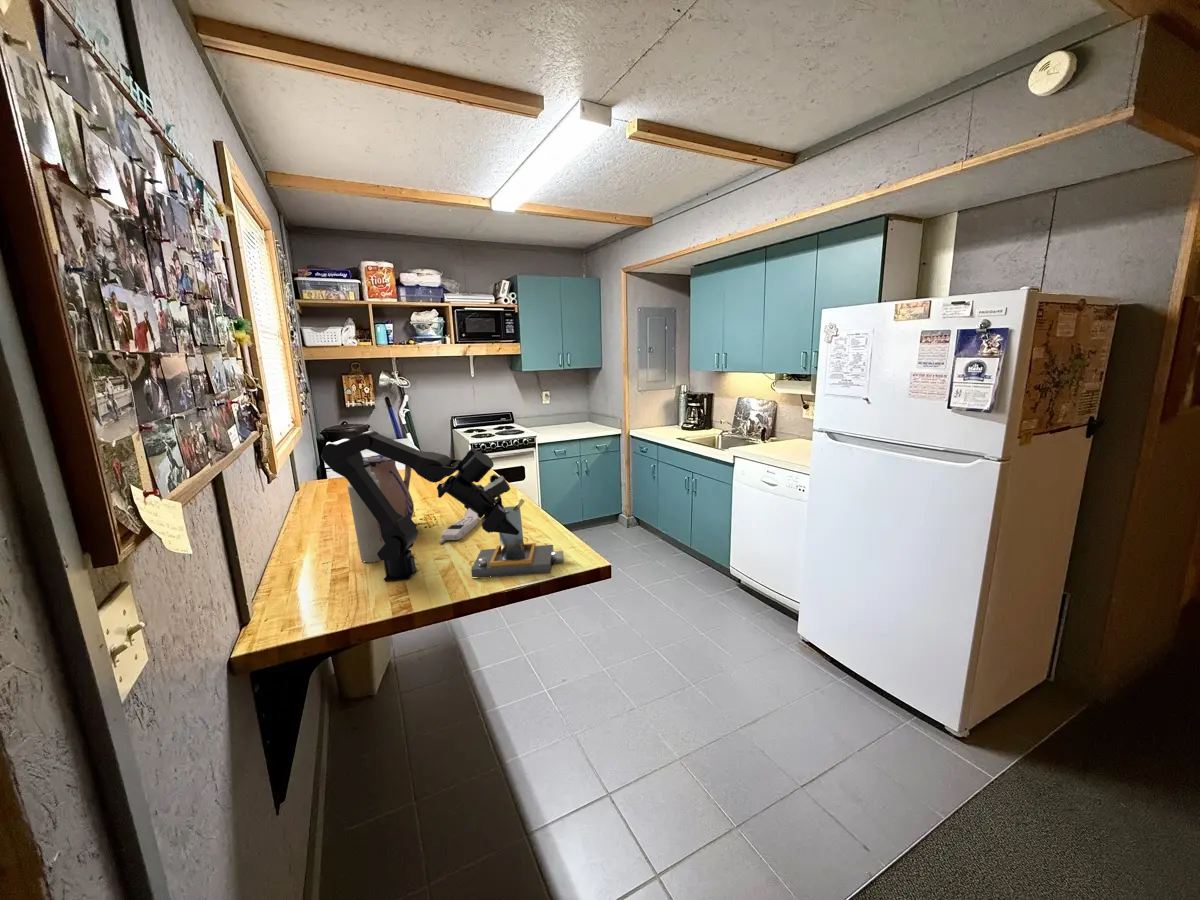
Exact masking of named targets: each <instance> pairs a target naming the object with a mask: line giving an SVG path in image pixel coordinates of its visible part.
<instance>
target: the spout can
mask: <svg viewBox="0 0 1200 900" xmlns="http://www.w3.org/2000/svg"><path fill="white" fill-rule="evenodd" d="M524 503H526V502H525V500H524V499H523V498H520V499H519V501H518V502H517V503H516V504H515V505H514V506H504V508H503V509H504V510H505V511H506V518H507V519H508V520H509V521H510V522H511V523H512V524H513V525H514V526H515V527H516V528H517V529H518V530H519V534H518V535H512V534H506V533H498V534H499V541H500V545H501V552H502V559H503V560H516V559H522V558H524V557H525V550H524V544H525V543H524V533H523V532H524V531H523V525H522V523H523V522H522V514H521V507H522V506H523V504H524Z"/></svg>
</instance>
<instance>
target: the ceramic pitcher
mask: <svg viewBox="0 0 1200 900" xmlns="http://www.w3.org/2000/svg"><path fill="white" fill-rule="evenodd" d="M363 462H368V463H369V464H370V466H369V467H370V469H371V472H373V473H375V476H376V480H378V481H379V485H380V490H381V492H382V493H383V494H384V496H385V497H386V499H387V500H388V501H389V503H390V504H391V506H392V507H393V508H394V510H395V511H396V512H397V513H398V514H400V515H402V516H405V515H407V514H409V515H410V517H411V519H412V518H413V515H414V510H415V508H414V501H413V498H412V496H411V493H410V491H409V490H410V481H411V475H412V468H410V467H409V466H407V465H404V478H403V477H402V476H401V474H400V472H399V470H398V468H397V466H396V461H394V460H392V459H389V458H387V457H385V456H382V455H380V454H377V455H372V456H366V457H363Z"/></svg>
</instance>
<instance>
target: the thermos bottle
mask: <svg viewBox="0 0 1200 900" xmlns="http://www.w3.org/2000/svg"><path fill="white" fill-rule="evenodd" d="M363 464H364V468H365V469H366V471H367V472H368V474H369V475H370V476H371V478H372V479H373V480H374V482H375V483H376V485H377V486H378V487H379V489H380V485H379V481H378V480H376V476H375V473H373V472H371V469H370V467H369V466H370V464H369V463H368V462H363ZM347 491H348V498H349V501H350V507H351V513H352V519H353V524H354V528H355V529H354V530H355V533H356V534H355V535H356V539H357V544H358V551H359V557H360V561H361V560H362V561H365V562H374V561H378V562H380V561H379V560H380V558H379V557H378V555H377V553H378V551H379V550H380V549H381V548H382V547H383V546H384V544H385V543H384V541H383V539H382V537H381V532H380V525H379V523H378V521H377V520H376V519H375V517H374V516H373V515H372V513H371V512H370V511H369V509H368V508H367V506H366V505H365V504H364V502H363V501H362V500H361V498H360V497H359V495H358V494H357V493H356V491H355V490H354V489H353V487H352V486H351V484H350V483H349V484H348V485H347ZM362 561H361V562H362ZM374 563H375V562H374Z"/></svg>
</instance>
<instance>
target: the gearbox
mask: <svg viewBox="0 0 1200 900" xmlns="http://www.w3.org/2000/svg"><path fill="white" fill-rule="evenodd" d="M524 550H525V557H524V558H522V559H516V560H503V559H502V552H501V544H500V545H496V547H495V548H489V549H481V550H480V551H479V553H478V554H477V555H478V556H477V557H476V560H475V561H474V563H473V565H472V567H471V570H470V572H471V578H472V577H489V578H499V577H500V578H501V577H502V578H503V577H513V576H515V577H516V576H528V575H542V574H551V573H552V567H553V564H556V563H557V564H558V563H564V561H565V560H564V551H563V550H557V551H556V550H554V545H553V544H544V545H537V544H536V542H530V543H529V542H528V543H524ZM490 576H491V577H490Z"/></svg>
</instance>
